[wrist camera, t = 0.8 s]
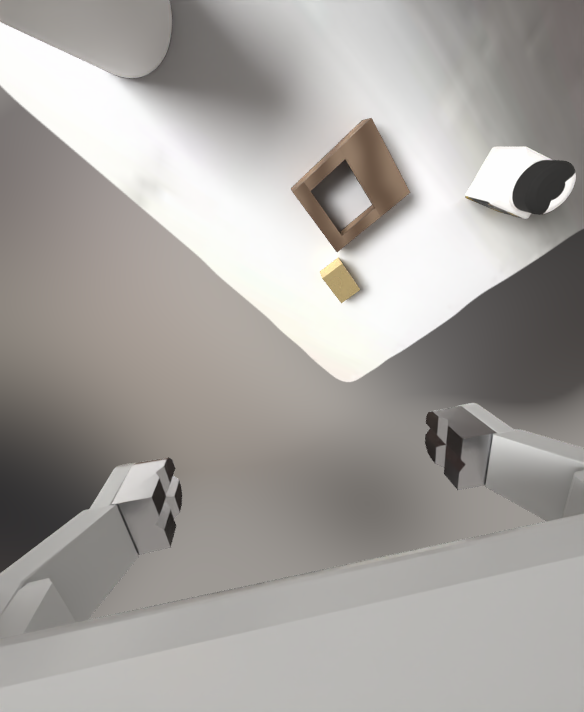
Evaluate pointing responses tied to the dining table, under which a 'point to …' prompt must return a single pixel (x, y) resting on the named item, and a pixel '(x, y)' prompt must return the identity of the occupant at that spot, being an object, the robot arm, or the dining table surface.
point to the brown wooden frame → (371, 172)
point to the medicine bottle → (521, 182)
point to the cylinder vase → (98, 30)
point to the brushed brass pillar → (339, 280)
